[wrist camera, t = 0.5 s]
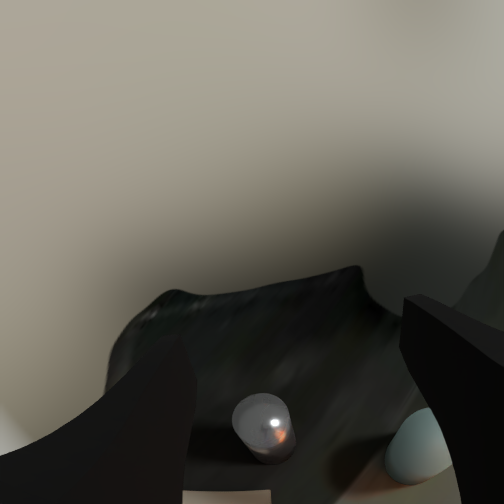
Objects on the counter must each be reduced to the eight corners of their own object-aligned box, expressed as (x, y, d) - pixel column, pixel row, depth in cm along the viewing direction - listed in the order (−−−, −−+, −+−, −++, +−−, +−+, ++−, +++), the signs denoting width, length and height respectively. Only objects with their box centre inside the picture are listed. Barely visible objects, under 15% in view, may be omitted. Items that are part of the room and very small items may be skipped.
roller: (449, 472, 17) (471, 458, 14) (390, 492, 18) (404, 484, 15) (434, 421, 22) (452, 398, 19) (379, 438, 22) (388, 419, 19)
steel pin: (298, 461, 22) (291, 439, 18) (251, 466, 23) (232, 445, 18) (294, 422, 25) (286, 390, 21) (250, 427, 26) (232, 396, 22)
